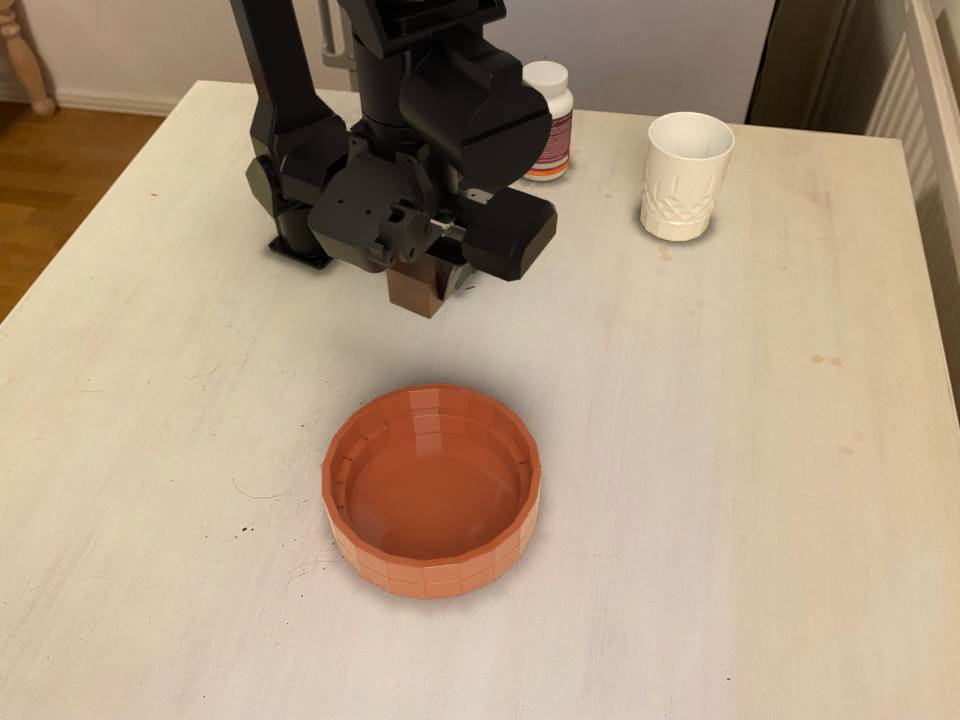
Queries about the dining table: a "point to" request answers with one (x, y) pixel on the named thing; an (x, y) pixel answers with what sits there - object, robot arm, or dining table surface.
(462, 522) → the bowl
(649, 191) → the white cup
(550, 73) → the pill bottle
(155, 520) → the dining table surface
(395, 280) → the toy block
